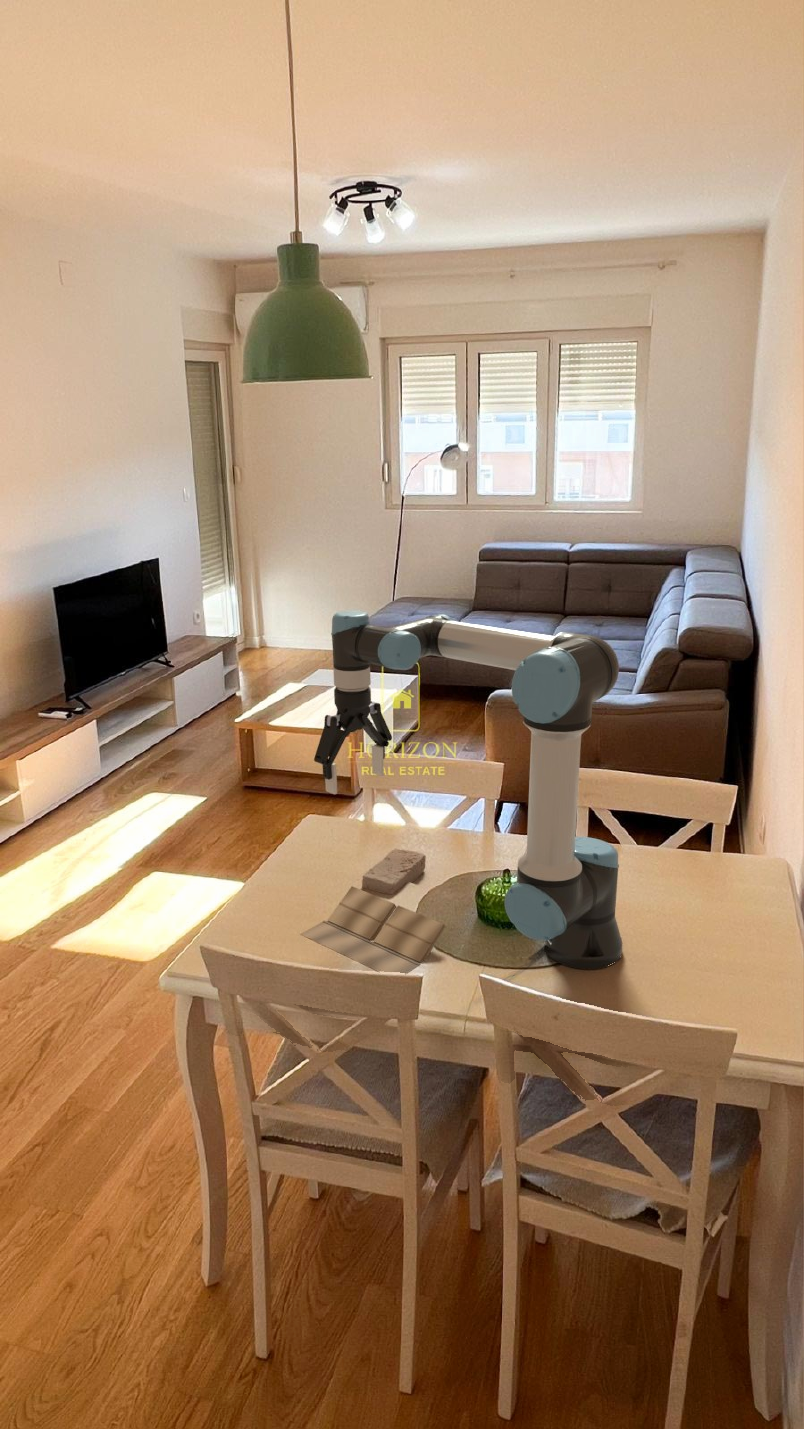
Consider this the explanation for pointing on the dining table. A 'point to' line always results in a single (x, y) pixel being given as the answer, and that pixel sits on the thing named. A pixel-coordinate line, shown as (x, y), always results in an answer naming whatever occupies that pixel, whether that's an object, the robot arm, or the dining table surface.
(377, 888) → the brick
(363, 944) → the floorboard
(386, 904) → the plank
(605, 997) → the dining table surface
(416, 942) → the plank
